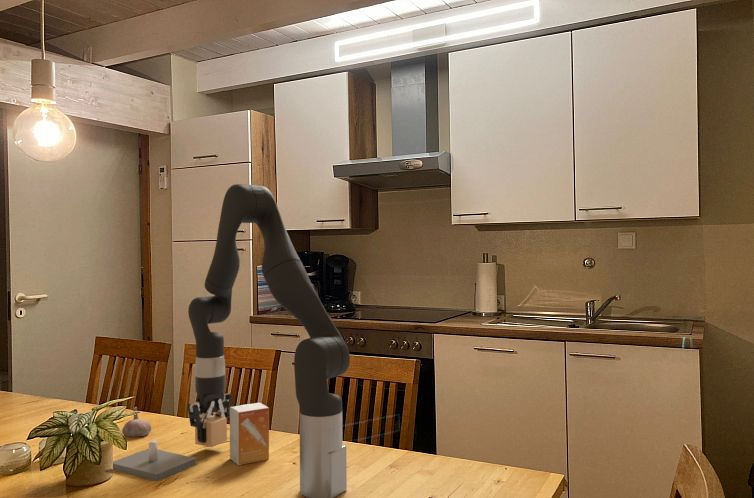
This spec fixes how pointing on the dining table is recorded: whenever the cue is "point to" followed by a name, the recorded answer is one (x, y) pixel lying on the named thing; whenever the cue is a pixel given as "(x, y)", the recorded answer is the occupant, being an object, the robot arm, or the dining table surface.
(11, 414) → the dining table surface
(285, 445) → the dining table surface
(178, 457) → the flat gray peg block
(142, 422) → the garlic bulb
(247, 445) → the small box
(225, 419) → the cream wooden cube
